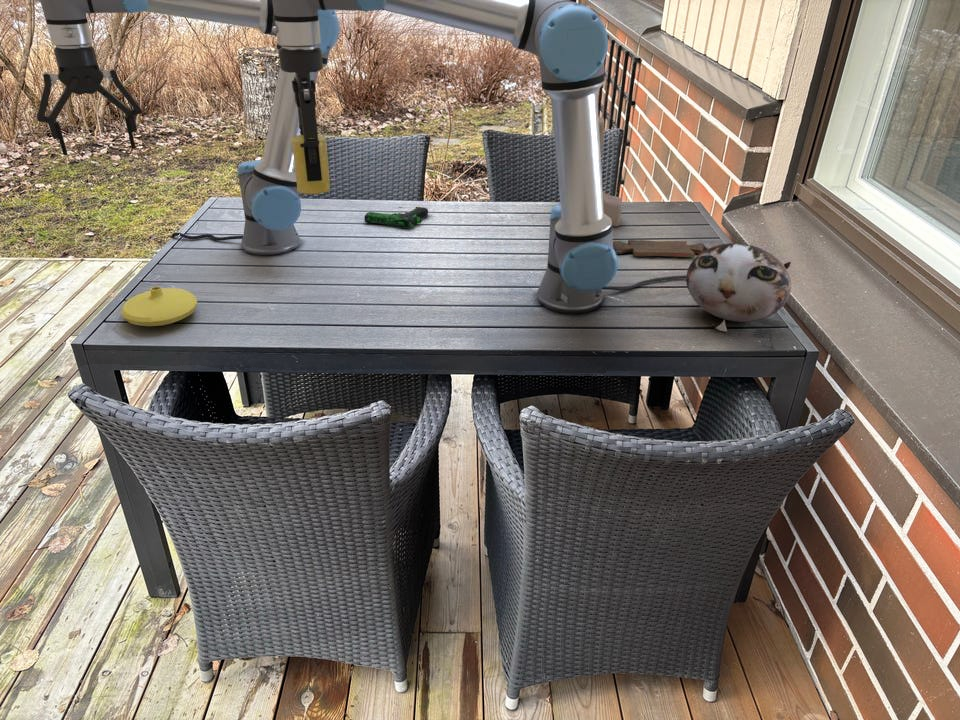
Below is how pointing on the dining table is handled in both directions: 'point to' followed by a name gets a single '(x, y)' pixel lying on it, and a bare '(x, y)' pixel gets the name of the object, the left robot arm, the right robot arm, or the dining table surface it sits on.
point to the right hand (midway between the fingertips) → (313, 174)
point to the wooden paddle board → (658, 248)
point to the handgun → (398, 218)
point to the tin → (300, 167)
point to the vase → (159, 306)
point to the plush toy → (738, 282)
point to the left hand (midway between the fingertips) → (100, 150)
